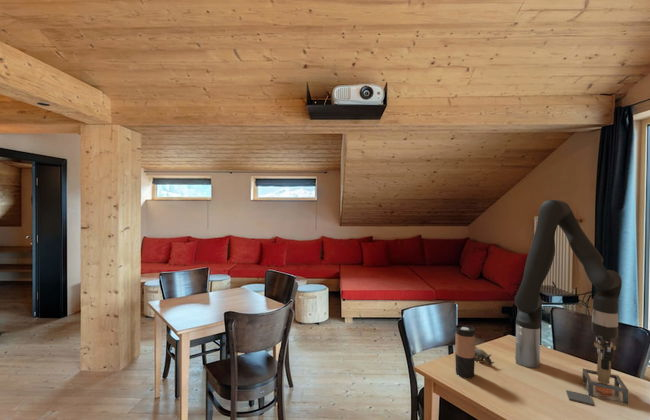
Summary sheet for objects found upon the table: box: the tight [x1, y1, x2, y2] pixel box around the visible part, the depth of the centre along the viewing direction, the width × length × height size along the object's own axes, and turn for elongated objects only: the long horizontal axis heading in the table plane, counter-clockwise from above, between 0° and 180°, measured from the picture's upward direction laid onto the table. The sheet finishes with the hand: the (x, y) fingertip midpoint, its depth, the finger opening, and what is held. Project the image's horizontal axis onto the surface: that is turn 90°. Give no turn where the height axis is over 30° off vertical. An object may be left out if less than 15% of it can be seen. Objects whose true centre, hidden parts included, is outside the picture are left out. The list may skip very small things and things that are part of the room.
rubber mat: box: [566, 389, 595, 406], centre depth 117 cm, size 7×6×1 cm
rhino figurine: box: [475, 345, 495, 366], centre depth 144 cm, size 4×14×6 cm, turn 24°
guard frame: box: [581, 368, 629, 405], centre depth 120 cm, size 11×11×5 cm
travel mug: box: [454, 323, 476, 379], centre depth 133 cm, size 8×8×20 cm
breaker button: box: [595, 386, 613, 395], centre depth 120 cm, size 5×5×1 cm
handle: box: [593, 340, 617, 385], centre depth 120 cm, size 5×6×15 cm
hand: (603, 366), depth 120 cm, fingers closed on handle, 4 cm apart
